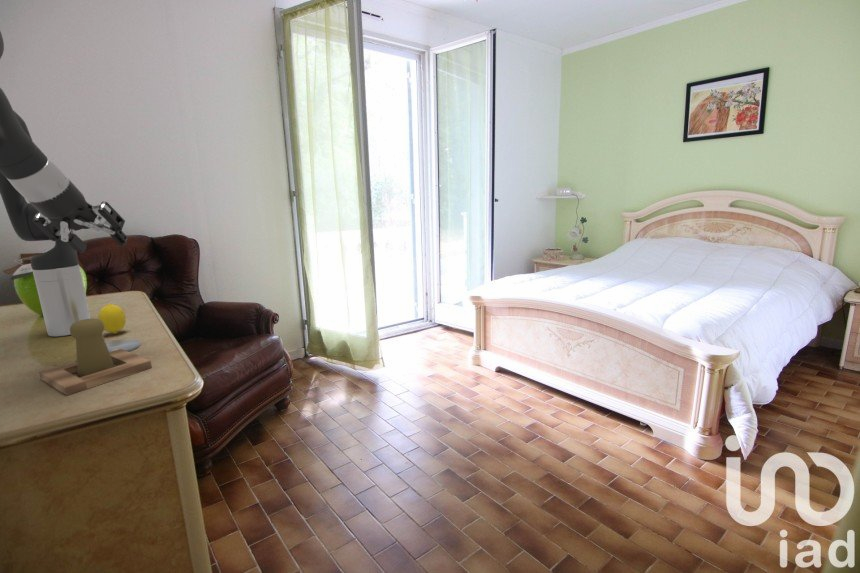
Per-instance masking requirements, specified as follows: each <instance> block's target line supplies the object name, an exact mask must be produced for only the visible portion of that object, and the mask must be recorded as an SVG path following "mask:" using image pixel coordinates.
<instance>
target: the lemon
mask: <svg viewBox="0 0 860 573" xmlns="http://www.w3.org/2000/svg"><path fill="white" fill-rule="evenodd" d="M98 319H99V320H101V321H102V322H103V324H104V331H105V332H108V333H112V334H113V335H117V334H118V332H119V331H121V330H123V329H124V327H125V325H126V322H127V317H126V314H125V312H124V310H123V309H122V307H120V306H119V305H116V304H112V303H107V304H106V305H105V306H103V307H102V308H101V309H100V311H99V312H98Z"/></svg>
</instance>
